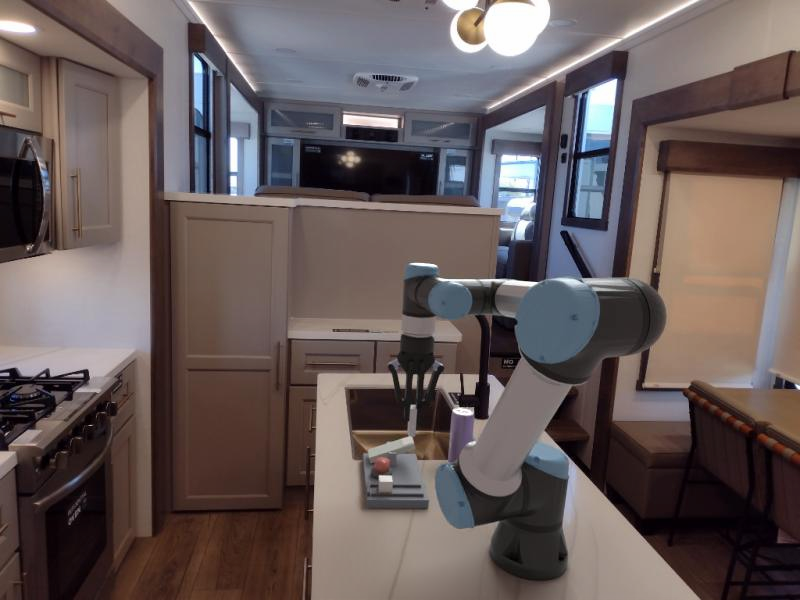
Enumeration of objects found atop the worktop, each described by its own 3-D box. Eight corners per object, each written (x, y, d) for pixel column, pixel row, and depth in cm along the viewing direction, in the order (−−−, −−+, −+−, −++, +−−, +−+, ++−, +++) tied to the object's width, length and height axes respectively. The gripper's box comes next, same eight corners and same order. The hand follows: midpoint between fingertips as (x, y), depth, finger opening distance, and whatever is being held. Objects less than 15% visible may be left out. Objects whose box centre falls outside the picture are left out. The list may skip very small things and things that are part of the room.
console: (428, 508, 131) (430, 485, 130) (366, 508, 130) (367, 485, 129) (415, 460, 155) (416, 441, 154) (362, 460, 153) (363, 440, 152)
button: (389, 473, 140) (390, 463, 140) (374, 473, 140) (375, 463, 139) (388, 466, 144) (388, 457, 143) (373, 466, 143) (374, 457, 143)
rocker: (415, 449, 147) (413, 442, 147) (370, 463, 147) (368, 457, 147) (413, 440, 152) (411, 434, 152) (369, 454, 152) (367, 449, 151)
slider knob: (392, 493, 133) (392, 481, 132) (378, 493, 132) (379, 481, 132) (390, 487, 136) (391, 475, 135) (378, 487, 135) (378, 475, 135)
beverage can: (471, 470, 151) (476, 416, 149) (448, 469, 151) (452, 414, 149) (469, 460, 157) (473, 407, 155) (447, 459, 157) (451, 406, 155)
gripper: (444, 330, 132) (436, 428, 136) (387, 328, 131) (381, 427, 135) (449, 338, 125) (442, 441, 129) (389, 336, 124) (383, 440, 128)
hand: (411, 434), depth 132 cm, fingers closed
